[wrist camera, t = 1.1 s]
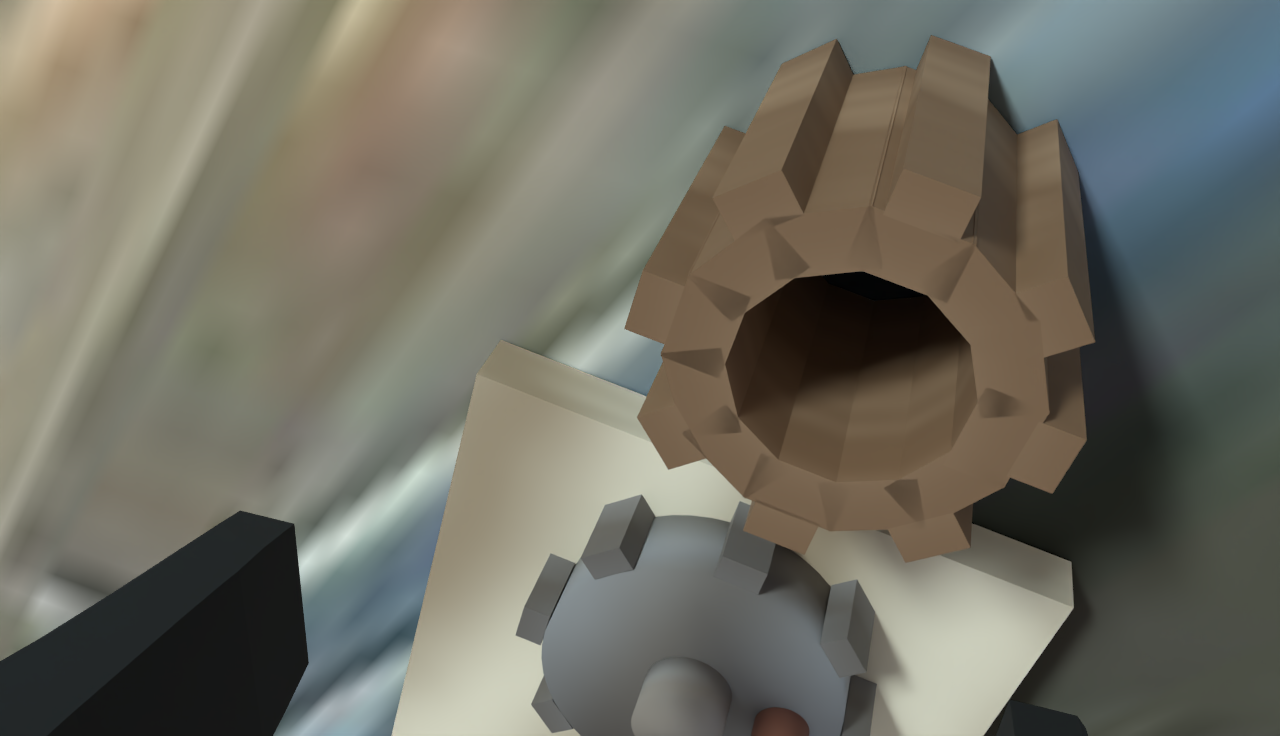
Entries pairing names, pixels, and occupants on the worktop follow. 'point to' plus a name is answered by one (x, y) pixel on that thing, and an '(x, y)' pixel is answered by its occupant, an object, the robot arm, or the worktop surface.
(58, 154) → the worktop surface
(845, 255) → the walnut gear
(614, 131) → the worktop surface
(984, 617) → the gear board
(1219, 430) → the worktop surface
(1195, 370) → the worktop surface
